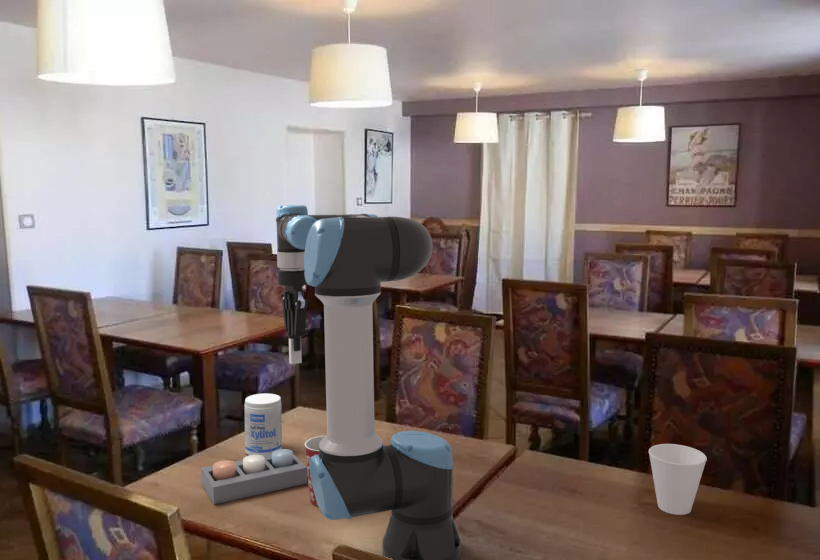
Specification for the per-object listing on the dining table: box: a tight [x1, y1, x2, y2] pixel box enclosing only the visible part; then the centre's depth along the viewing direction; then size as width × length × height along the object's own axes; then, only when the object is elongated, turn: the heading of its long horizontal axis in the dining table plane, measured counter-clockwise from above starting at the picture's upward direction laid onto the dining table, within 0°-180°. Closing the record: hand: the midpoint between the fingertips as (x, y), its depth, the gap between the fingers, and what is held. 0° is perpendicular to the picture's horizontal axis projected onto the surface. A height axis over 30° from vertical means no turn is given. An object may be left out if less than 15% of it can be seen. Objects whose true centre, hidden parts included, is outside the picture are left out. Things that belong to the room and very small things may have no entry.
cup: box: [648, 443, 707, 516], centre depth 150 cm, size 12×12×12 cm
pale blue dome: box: [272, 448, 294, 469], centre depth 166 cm, size 5×5×4 cm
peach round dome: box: [212, 459, 236, 481], centre depth 159 cm, size 5×5×4 cm
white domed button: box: [242, 455, 265, 475], centre depth 162 cm, size 5×5×4 cm
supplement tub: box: [244, 393, 283, 456], centre depth 181 cm, size 10×10×15 cm
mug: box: [304, 435, 326, 507], centre depth 155 cm, size 13×9×14 cm
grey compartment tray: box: [200, 453, 308, 505], centre depth 163 cm, size 12×22×4 cm, turn 119°
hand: (295, 362), depth 171 cm, fingers closed
